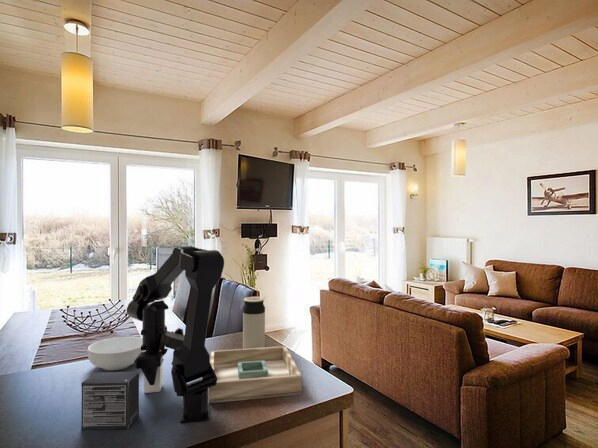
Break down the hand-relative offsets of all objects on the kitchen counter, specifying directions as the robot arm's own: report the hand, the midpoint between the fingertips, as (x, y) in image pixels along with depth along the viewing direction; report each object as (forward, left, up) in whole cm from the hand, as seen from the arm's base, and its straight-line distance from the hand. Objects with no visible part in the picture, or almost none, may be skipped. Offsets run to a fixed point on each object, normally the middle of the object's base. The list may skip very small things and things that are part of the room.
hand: (153, 381), depth 99 cm
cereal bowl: (+20, +14, -2) cm, 25 cm away
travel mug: (+28, -30, -2) cm, 41 cm away
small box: (-15, +7, -2) cm, 17 cm away
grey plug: (0, 0, -2) cm, 2 cm away
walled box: (+1, -27, -2) cm, 27 cm away
